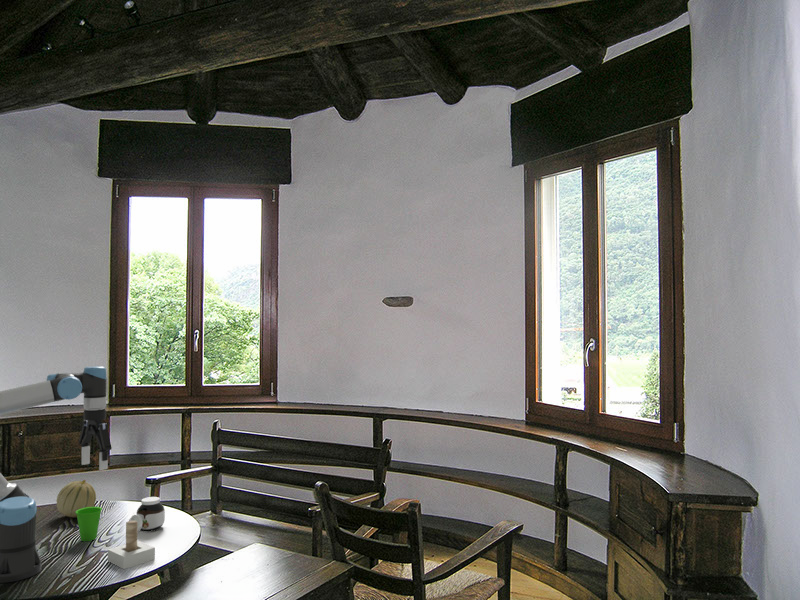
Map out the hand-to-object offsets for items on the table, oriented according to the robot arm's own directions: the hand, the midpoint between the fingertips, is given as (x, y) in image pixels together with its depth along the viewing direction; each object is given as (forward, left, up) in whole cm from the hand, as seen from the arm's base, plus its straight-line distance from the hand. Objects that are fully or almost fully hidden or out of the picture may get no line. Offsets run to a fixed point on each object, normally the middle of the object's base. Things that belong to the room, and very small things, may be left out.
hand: (94, 466), depth 232 cm
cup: (+2, +8, -29) cm, 30 cm away
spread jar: (+21, +1, -29) cm, 36 cm away
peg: (+1, -24, -29) cm, 38 cm away
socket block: (+1, -24, -29) cm, 37 cm away
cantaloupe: (+12, +40, -29) cm, 51 cm away
